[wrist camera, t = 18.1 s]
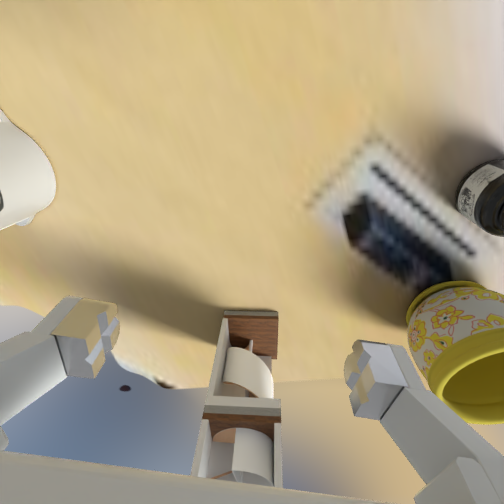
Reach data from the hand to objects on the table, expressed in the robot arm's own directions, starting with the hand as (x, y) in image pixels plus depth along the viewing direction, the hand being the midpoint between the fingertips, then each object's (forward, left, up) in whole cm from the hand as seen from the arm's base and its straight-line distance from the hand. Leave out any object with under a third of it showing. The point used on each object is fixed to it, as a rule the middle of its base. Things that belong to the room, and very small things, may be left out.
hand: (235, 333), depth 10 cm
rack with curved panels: (+4, -37, -35) cm, 51 cm away
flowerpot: (+38, -23, -35) cm, 57 cm away
